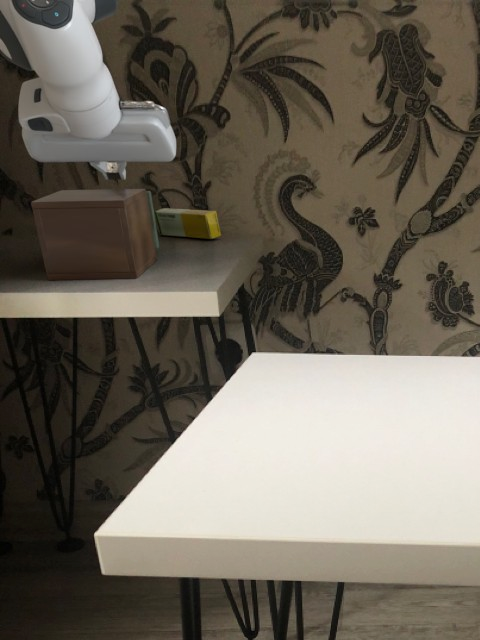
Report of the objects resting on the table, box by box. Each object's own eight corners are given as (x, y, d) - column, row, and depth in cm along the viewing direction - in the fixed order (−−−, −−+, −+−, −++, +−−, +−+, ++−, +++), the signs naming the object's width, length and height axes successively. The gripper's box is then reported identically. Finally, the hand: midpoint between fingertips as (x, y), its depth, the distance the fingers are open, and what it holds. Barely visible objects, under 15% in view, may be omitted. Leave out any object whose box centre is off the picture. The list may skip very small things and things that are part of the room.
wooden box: (75, 262, 133) (61, 190, 128) (157, 260, 133) (145, 188, 129) (48, 280, 121) (30, 202, 116) (137, 278, 122) (123, 200, 117)
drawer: (98, 242, 142) (88, 188, 138) (166, 241, 143) (158, 187, 139) (65, 263, 126) (53, 202, 123) (142, 262, 127) (132, 201, 123)
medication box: (159, 236, 154) (152, 210, 152) (170, 232, 156) (164, 207, 153) (211, 239, 148) (205, 213, 146) (222, 235, 150) (217, 209, 148)
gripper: (165, 83, 124) (187, 158, 137) (9, 82, 122) (47, 158, 136) (163, 121, 122) (186, 193, 135) (6, 121, 121) (44, 194, 134)
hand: (115, 176), depth 136 cm, fingers closed
